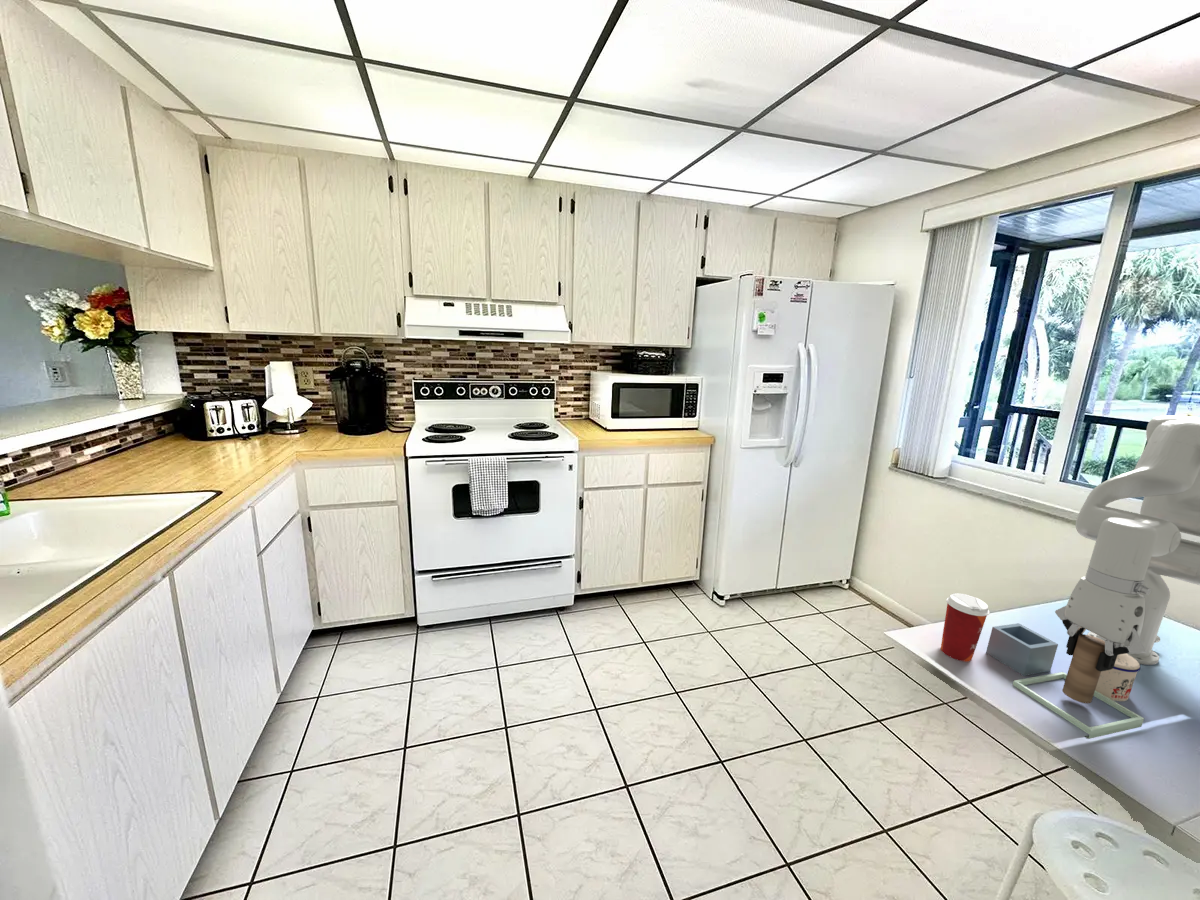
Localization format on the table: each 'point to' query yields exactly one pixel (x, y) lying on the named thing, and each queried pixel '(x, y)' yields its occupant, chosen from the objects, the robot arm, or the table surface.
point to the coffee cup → (963, 626)
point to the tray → (1092, 731)
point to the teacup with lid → (1118, 678)
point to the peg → (1084, 669)
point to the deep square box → (1021, 649)
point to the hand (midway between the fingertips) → (1087, 660)
